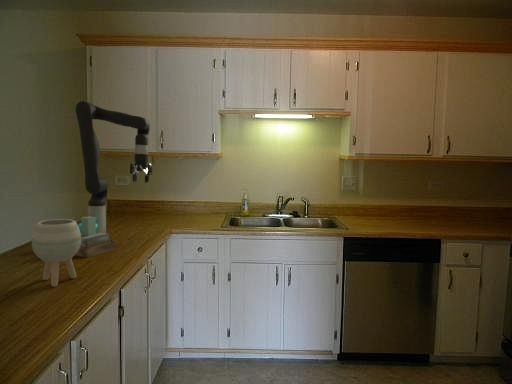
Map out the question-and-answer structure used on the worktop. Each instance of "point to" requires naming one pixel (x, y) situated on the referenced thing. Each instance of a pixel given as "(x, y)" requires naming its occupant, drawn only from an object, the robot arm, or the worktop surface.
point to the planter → (56, 246)
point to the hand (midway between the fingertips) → (140, 181)
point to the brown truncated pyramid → (95, 245)
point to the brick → (88, 226)
